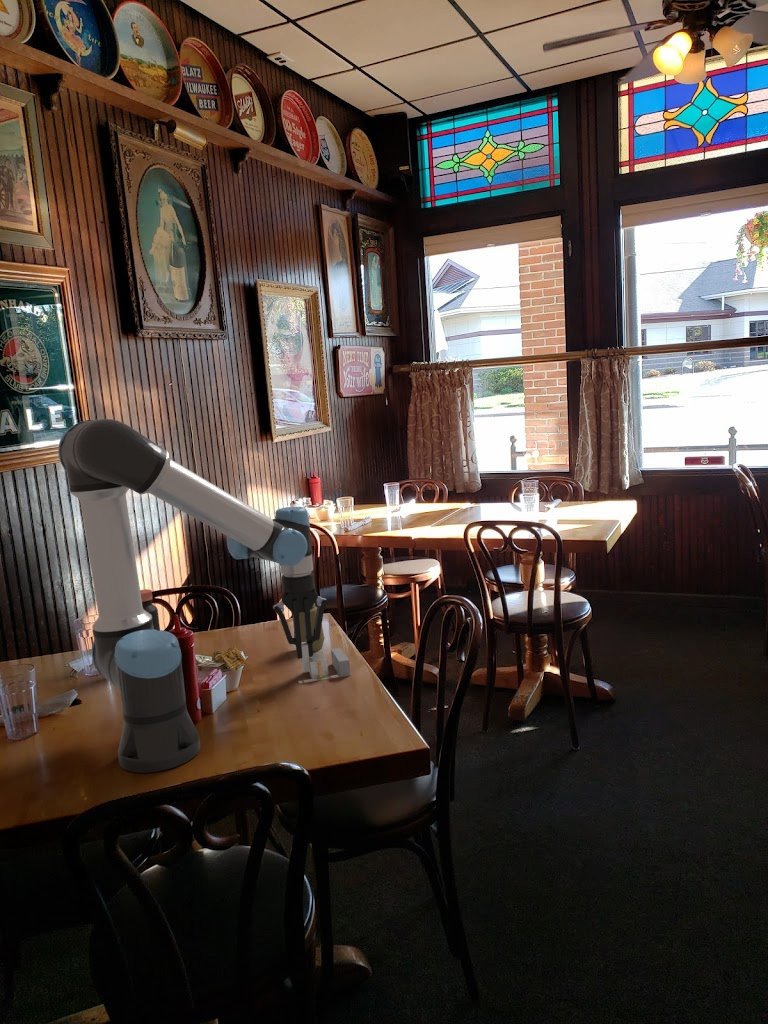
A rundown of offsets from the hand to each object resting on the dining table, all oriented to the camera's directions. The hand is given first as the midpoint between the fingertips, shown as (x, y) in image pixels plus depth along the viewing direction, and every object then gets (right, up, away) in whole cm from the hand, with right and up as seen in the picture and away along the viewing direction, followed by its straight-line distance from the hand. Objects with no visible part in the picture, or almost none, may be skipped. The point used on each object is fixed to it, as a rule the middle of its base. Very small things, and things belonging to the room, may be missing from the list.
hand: (306, 670), depth 180 cm
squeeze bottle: (-1, 0, +20) cm, 21 cm away
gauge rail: (+2, -2, +1) cm, 3 cm away
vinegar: (-43, -3, +20) cm, 48 cm away
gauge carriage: (+3, -1, +1) cm, 3 cm away
